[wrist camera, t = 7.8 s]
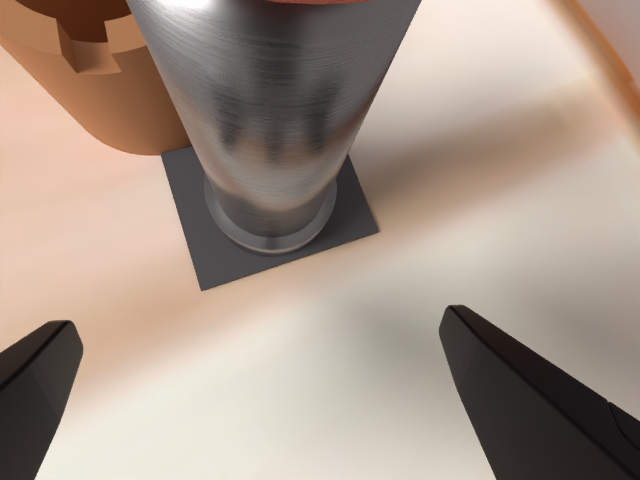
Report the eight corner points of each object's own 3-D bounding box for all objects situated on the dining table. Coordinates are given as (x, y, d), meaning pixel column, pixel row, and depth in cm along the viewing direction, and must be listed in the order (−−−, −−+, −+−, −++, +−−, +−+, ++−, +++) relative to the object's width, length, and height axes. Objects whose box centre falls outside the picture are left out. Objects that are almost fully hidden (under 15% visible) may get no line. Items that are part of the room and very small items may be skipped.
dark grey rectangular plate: (377, 232, 18) (378, 231, 18) (201, 290, 16) (201, 290, 16) (331, 113, 19) (331, 111, 19) (161, 155, 17) (160, 153, 17)
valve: (355, 211, 18) (732, -245, 3) (259, 284, 16) (173, 49, 2) (282, 122, 18) (333, -620, 4) (183, 186, 17) (-363, -625, 2)
